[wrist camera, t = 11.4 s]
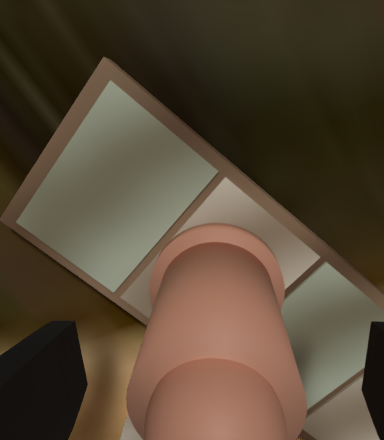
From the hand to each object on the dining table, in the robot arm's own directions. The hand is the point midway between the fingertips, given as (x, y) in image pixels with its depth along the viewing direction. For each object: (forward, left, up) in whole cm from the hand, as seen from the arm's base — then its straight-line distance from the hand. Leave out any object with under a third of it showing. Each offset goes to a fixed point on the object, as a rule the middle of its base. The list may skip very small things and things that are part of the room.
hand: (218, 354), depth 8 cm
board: (-2, +1, -5) cm, 5 cm away
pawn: (0, 0, -4) cm, 4 cm away
